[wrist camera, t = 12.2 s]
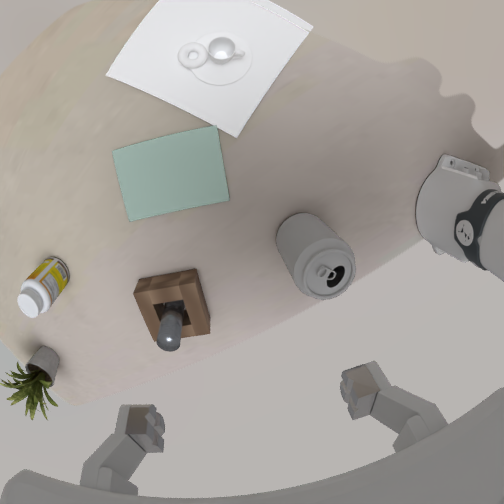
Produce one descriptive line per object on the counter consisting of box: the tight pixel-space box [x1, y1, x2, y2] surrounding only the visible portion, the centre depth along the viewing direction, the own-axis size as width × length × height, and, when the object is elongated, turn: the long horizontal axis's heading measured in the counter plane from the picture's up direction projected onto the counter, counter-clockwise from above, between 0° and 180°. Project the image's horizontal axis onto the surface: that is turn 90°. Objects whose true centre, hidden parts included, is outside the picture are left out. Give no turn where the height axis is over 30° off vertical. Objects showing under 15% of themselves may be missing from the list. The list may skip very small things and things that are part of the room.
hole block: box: [133, 269, 210, 341], centre depth 40 cm, size 9×9×4 cm
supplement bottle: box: [18, 257, 69, 318], centre depth 32 cm, size 6×6×10 cm
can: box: [276, 213, 356, 300], centre depth 34 cm, size 8×8×12 cm
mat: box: [112, 125, 230, 222], centre depth 34 cm, size 14×10×1 cm
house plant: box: [0, 346, 59, 420], centre depth 36 cm, size 14×14×16 cm
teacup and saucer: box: [177, 30, 254, 86], centre depth 26 cm, size 9×8×4 cm
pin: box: [157, 300, 185, 351], centre depth 37 cm, size 3×3×10 cm
